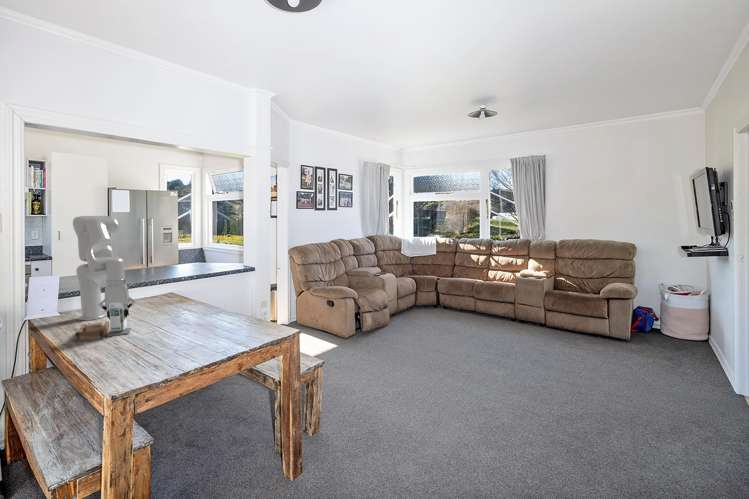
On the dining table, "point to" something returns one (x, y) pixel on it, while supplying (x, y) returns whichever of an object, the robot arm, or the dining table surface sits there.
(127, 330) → the mat
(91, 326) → the offcut upper
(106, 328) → the rack
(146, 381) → the dining table surface
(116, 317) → the syrup box
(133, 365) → the dining table surface
